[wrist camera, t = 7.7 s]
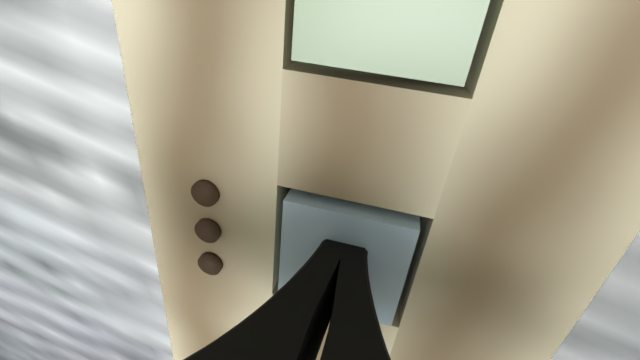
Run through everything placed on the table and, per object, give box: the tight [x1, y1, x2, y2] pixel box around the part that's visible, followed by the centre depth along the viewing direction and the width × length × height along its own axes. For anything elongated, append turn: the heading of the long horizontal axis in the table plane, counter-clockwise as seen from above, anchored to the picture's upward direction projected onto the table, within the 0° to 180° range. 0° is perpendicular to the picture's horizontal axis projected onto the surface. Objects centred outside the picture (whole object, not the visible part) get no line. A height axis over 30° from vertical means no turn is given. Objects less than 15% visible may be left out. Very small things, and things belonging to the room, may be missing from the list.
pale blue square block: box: [278, 188, 420, 326], centre depth 12 cm, size 4×4×2 cm
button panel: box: [112, 0, 640, 360], centre depth 12 cm, size 14×26×2 cm, turn 174°
